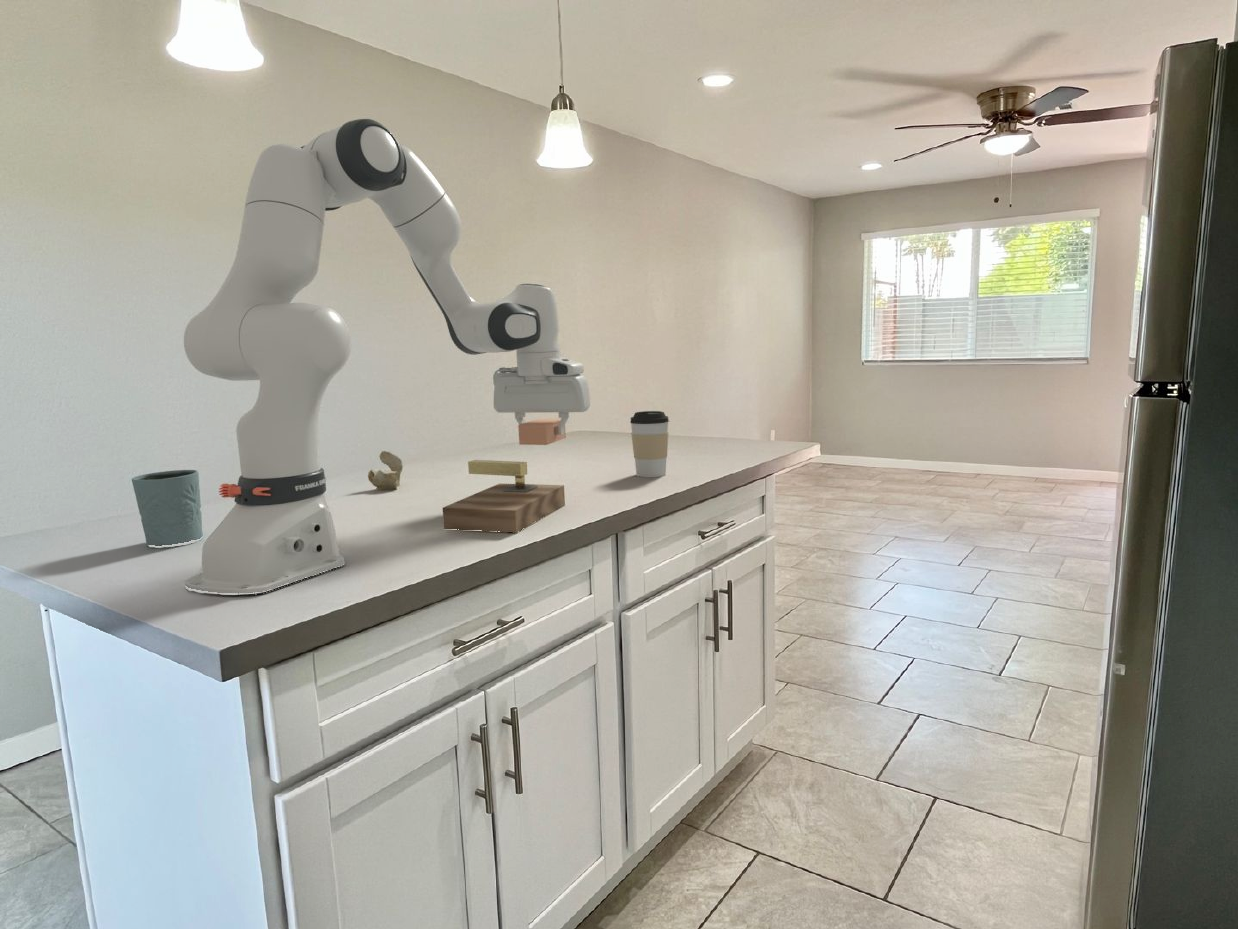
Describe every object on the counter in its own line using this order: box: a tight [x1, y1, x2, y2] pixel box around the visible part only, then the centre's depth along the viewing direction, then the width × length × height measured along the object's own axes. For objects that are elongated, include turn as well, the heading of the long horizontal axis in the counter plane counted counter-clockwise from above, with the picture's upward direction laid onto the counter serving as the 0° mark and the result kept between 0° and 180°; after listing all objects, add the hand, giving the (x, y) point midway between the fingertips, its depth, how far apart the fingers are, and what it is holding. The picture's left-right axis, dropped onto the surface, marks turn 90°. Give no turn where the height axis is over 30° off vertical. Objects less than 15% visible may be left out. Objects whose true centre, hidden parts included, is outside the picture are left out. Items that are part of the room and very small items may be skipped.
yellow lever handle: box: [467, 459, 528, 488], centre depth 152 cm, size 12×2×5 cm, turn 65°
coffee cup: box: [630, 410, 670, 478], centre depth 182 cm, size 9×9×15 cm
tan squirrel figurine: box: [367, 450, 404, 491], centre depth 178 cm, size 9×6×10 cm
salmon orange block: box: [517, 418, 566, 446], centre depth 161 cm, size 10×6×4 cm, turn 162°
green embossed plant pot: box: [131, 469, 204, 546], centre depth 136 cm, size 10×10×12 cm
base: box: [442, 483, 566, 534], centre depth 146 cm, size 22×14×4 cm, turn 162°
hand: (542, 434), depth 161 cm, fingers closed on salmon orange block, 6 cm apart
